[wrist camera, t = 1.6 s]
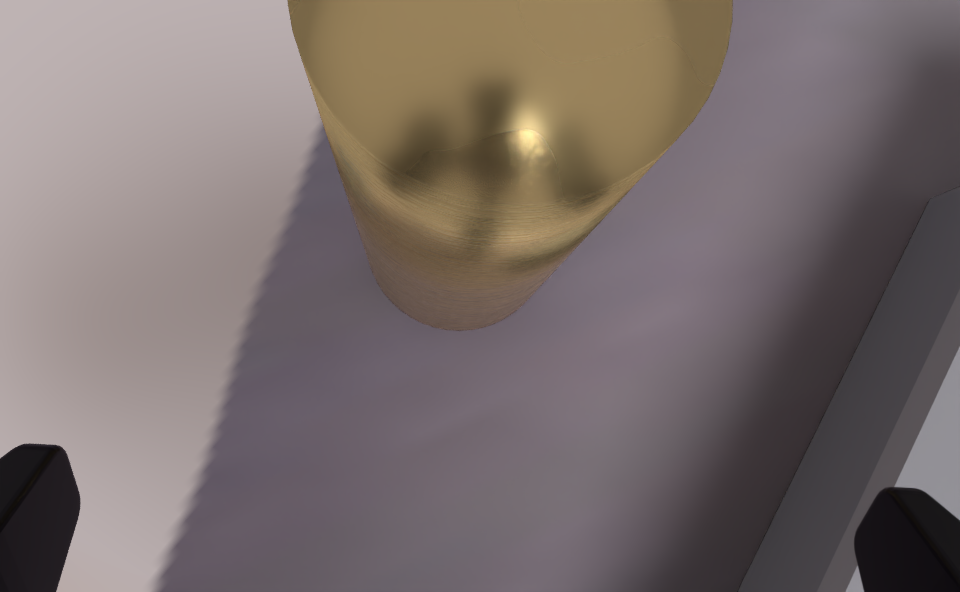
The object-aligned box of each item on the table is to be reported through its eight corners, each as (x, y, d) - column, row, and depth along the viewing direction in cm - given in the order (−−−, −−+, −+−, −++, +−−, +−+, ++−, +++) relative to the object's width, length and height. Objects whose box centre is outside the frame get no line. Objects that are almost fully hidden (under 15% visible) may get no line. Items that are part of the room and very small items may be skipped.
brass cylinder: (492, 365, 21) (601, 288, 8) (330, 270, 21) (196, 51, 9) (581, 208, 22) (805, -76, 9) (426, 118, 22) (435, -291, 9)
